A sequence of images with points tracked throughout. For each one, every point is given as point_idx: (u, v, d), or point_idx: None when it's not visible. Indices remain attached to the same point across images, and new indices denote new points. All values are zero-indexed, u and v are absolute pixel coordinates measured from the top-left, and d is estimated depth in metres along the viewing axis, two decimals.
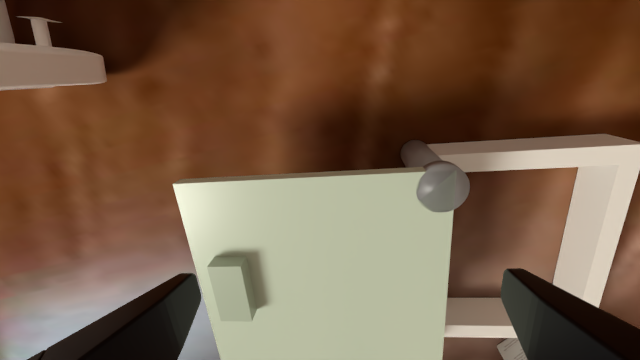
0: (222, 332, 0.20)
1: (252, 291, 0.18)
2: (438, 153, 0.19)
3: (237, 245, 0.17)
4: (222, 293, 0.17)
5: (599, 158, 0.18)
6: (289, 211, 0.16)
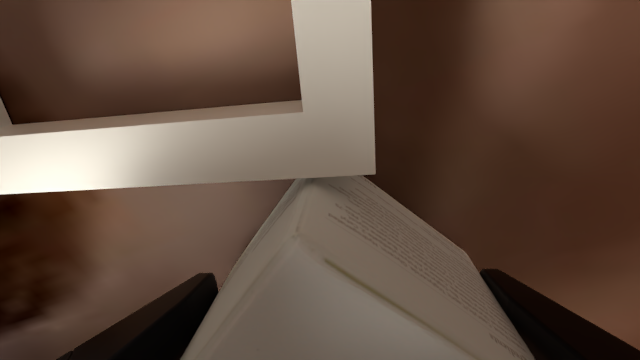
0: None
1: None
2: None
3: None
4: None
5: None
6: None
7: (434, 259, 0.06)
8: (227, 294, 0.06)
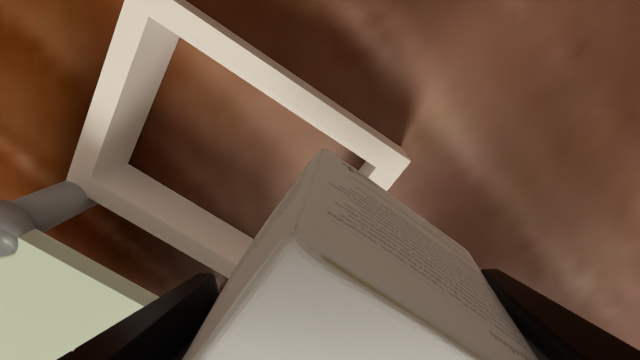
0: None
1: None
2: None
3: None
4: None
5: (131, 34, 0.14)
6: None
7: (434, 257, 0.06)
8: (229, 292, 0.06)
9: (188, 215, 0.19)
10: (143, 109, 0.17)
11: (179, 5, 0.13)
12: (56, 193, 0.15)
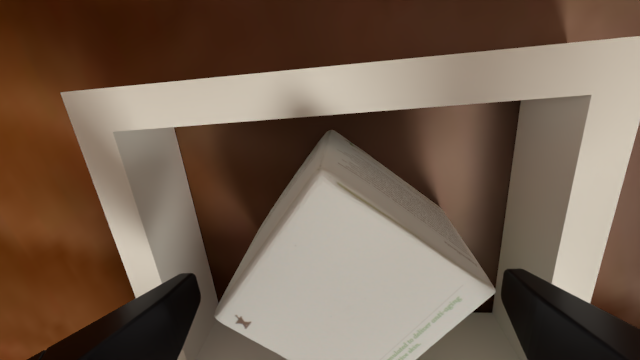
0: None
1: None
2: None
3: None
4: None
5: (111, 170, 0.09)
6: None
7: (411, 201, 0.09)
8: (269, 223, 0.08)
9: None
10: (194, 245, 0.12)
11: (134, 86, 0.08)
12: None
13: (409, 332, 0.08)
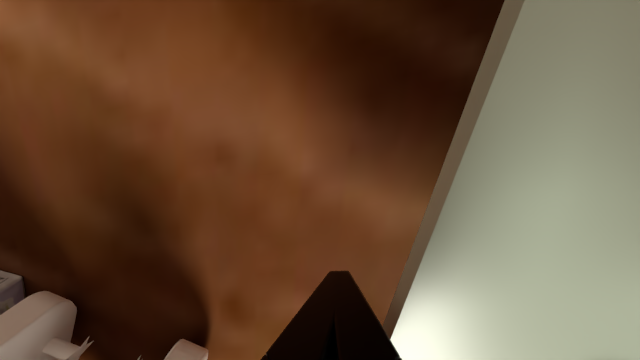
0: None
1: None
2: None
3: None
4: None
5: None
6: (523, 264, 0.06)
7: None
8: None
9: None
10: None
11: None
12: None
13: None
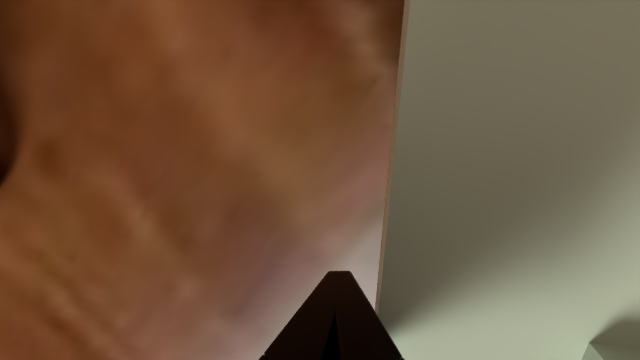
0: None
1: None
2: None
3: (548, 352, 0.07)
4: None
5: None
6: (483, 216, 0.06)
7: None
8: None
9: None
10: None
11: None
12: None
13: None
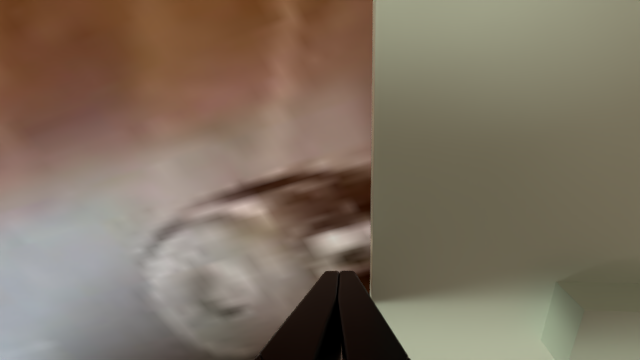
0: None
1: None
2: None
3: (523, 293, 0.08)
4: None
5: None
6: (455, 175, 0.07)
7: None
8: None
9: None
10: None
11: None
12: None
13: None
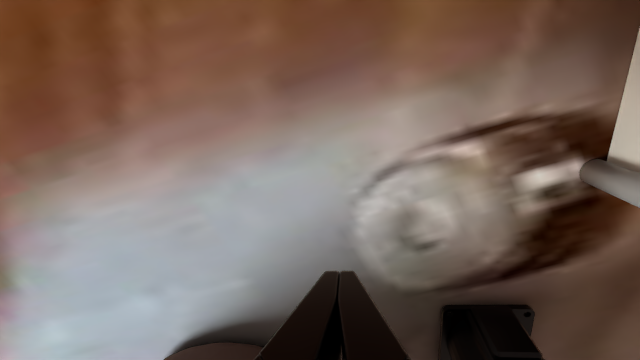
0: None
1: None
2: None
3: None
4: None
5: None
6: None
7: None
8: None
9: None
10: None
11: None
12: None
13: None
